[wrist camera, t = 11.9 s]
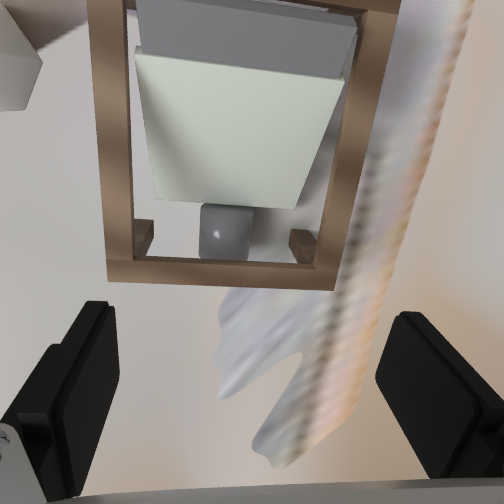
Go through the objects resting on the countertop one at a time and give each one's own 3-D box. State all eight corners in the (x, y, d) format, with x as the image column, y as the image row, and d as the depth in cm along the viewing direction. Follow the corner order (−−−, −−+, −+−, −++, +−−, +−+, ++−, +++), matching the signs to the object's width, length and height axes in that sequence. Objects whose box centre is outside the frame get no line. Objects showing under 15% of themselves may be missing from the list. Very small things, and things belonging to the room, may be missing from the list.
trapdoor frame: (125, -22, 27) (80, -84, 18) (348, 14, 30) (407, -24, 21) (134, 236, 36) (107, 281, 27) (305, 246, 39) (333, 290, 30)
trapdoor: (129, -20, 19) (124, -8, 18) (360, 17, 21) (365, 29, 20) (157, 187, 34) (155, 199, 33) (292, 198, 36) (294, 209, 35)
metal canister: (199, 217, 30) (197, 265, 33) (255, 221, 31) (250, 268, 33) (202, 199, 35) (199, 242, 37) (251, 202, 36) (246, 245, 38)
